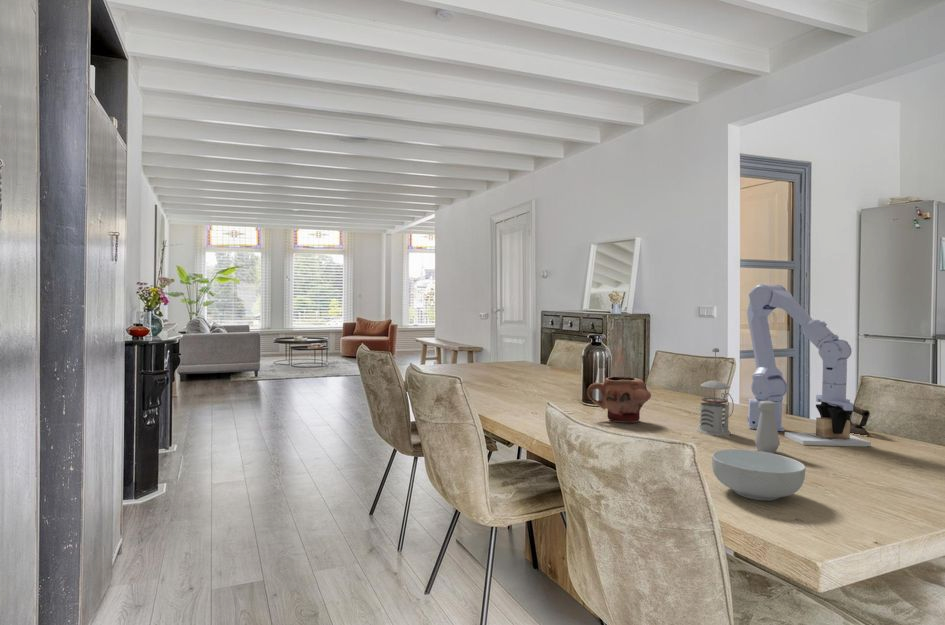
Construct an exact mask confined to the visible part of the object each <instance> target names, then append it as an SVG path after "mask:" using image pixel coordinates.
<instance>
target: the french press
mask: <svg viewBox="0 0 945 625" xmlns="http://www.w3.org/2000/svg"><path fill="white" fill-rule="evenodd" d="M711 350H712V351H711V352H712V353H714V377H716V374H717V372H716V371H717V370H716V369H717V368H716V367H717V353H720V349H719V348H717V347H715V348H712V349H711ZM700 387H701V388H703V389H707V390H708V389H709V390H713V392H714V393H713V396H712V397H709V396H708V397H702V398H701V400H702V401H703V402H701V403H700V406H699V411H700V414H699V416H700V417H699V424H700V425H699V427H698V428H697V429H696V430H697V431H696V432H697V433H699V432H700V433H699V434H702V433H704V434H703V435H706V434H708V435H707V436H714V435H716V436H717V437H726V435H728V436H731V435H732V434H731V433H732V432H731V431H730V430H729V418H730V417H732V415H733V413H734V409H735V408H734V405H735V404H734V400H733V398H732V395H731V394H730V393H729V392H726V393H724V392H722V393H721V396H720V397H721V398H720V397H716V390H718V391H719V390H729V389H730V386H729V385H728V384H727V383H725V382H723V381H719V380H717V379H713V380H708V381H705V382H703V383H701V384H700ZM728 396H729V397H730V399H731V402H732V409H731V413H729V412H730V411H729V410H730V403H729V400H728ZM726 403H727V404H726ZM729 414H730V415H729ZM723 422H724V423H723ZM730 434H731V435H730ZM724 435H725V436H724ZM716 436H715V437H716Z"/></svg>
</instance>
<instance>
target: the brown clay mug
mask: <svg viewBox="0 0 945 625" xmlns="http://www.w3.org/2000/svg"><path fill="white" fill-rule="evenodd" d="M647 388H648V387H647V385H646V383H645V382H644V380H642V379H639V378H635V377H629V376H628V377H627V376H625V377H624V376H623V377H621V376H610V377H606V378H605V380H604V382H593V383H591V384H590V385H589V386H588V387H587V390H586V394H587V397H588V399H589V400H591V401H592V402H593V404H594V405H596V406H598V407H600V408H601V409H602V410H606V409H607V419H608V420H609V421H612V422H614V423H615V422H617V423H637V422H639V421H640V413H641V412H640V411H641V408H642V407H643V405H644V404H646V403H647V402H648V401H649V400H650V399H651V397H652V393H651V391H649V389H647ZM594 390H599V391H600V392H601V399H600V400H595V399H594V397H593V396H592V392H593V391H594Z"/></svg>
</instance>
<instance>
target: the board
mask: <svg viewBox="0 0 945 625" xmlns="http://www.w3.org/2000/svg"><path fill="white" fill-rule="evenodd" d="M784 437H785V438H787V439H789V440H791V441H794V442H796V443H798V444H800V445H803V446H828V447H831V446H832V447H833V446H835V447H867V446H871V444H872V443H871V441H869V440H866V439H863V438H860V437H858V436H857V435H854V434H850V439H829V438H822V437H819V436H817V435H816V432H791V431H790V432H789V431H788V432H787V431H786V432H785V431H784Z"/></svg>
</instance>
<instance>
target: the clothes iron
mask: <svg viewBox="0 0 945 625" xmlns="http://www.w3.org/2000/svg"><path fill="white" fill-rule="evenodd" d="M853 412H854V413H856V414H858V415H860V416H861V420H860V423H859V424H858V423H853V422H852V420H851V416H852V414H851V415H850V416H849V418H848V420H849V421H850V433H854V434H860V435H868V436H869V432H868V431H867V430H866V428H865V426H866V425H867V423H868V420H869V417H870V415H871V414H870V413H871V411H869V410H867V409H863V408H860V407H859V406H857V405H854V404H853V411H852V413H853ZM854 434H853V435H854Z"/></svg>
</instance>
